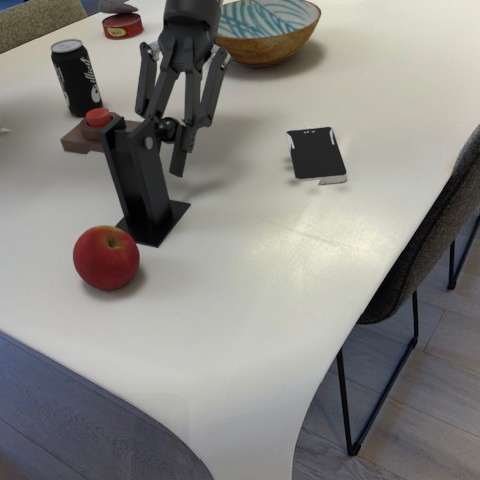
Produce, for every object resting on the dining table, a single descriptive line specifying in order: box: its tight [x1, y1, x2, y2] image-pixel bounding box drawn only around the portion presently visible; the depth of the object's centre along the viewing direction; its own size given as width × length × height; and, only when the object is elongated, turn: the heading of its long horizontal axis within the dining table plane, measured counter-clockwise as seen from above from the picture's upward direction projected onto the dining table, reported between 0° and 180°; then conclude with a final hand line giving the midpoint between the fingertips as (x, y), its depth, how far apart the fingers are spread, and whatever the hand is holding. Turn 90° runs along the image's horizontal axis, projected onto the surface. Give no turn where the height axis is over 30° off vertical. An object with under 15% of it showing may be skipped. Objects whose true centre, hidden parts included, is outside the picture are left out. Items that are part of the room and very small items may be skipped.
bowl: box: [215, 0, 323, 68], centre depth 104 cm, size 25×25×8 cm
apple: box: [72, 224, 141, 291], centre depth 60 cm, size 8×8×8 cm
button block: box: [59, 111, 143, 155], centre depth 86 cm, size 12×9×4 cm
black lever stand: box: [98, 115, 192, 249], centre depth 65 cm, size 10×8×15 cm
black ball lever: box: [114, 116, 181, 153], centre depth 65 cm, size 13×4×4 cm, turn 157°
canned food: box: [96, 0, 144, 41], centre depth 123 cm, size 11×10×10 cm
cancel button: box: [86, 107, 112, 128], centre depth 84 cm, size 4×4×2 cm
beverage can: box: [49, 38, 103, 118], centre depth 92 cm, size 7×7×12 cm
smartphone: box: [285, 125, 348, 186], centre depth 78 cm, size 8×1×15 cm
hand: (162, 172), depth 69 cm, fingers closed on black ball lever, 4 cm apart
